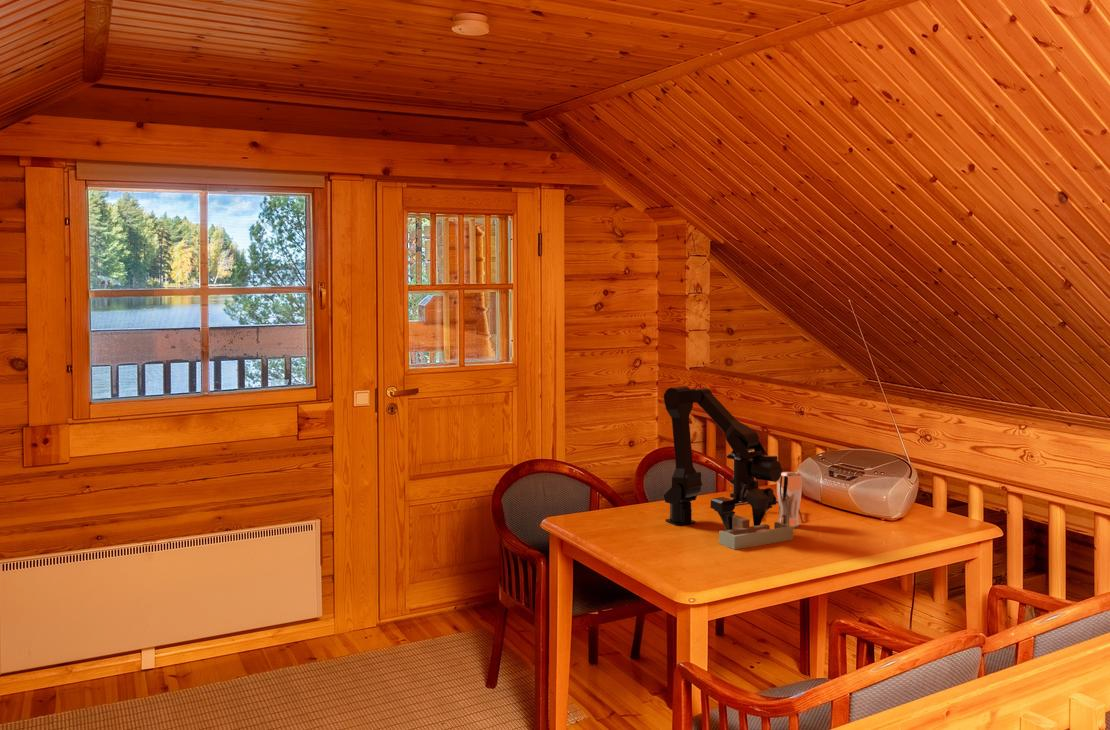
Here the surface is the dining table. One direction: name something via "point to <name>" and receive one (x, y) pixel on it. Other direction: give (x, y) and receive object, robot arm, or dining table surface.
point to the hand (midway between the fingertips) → (743, 532)
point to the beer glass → (789, 498)
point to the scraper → (744, 525)
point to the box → (757, 537)
